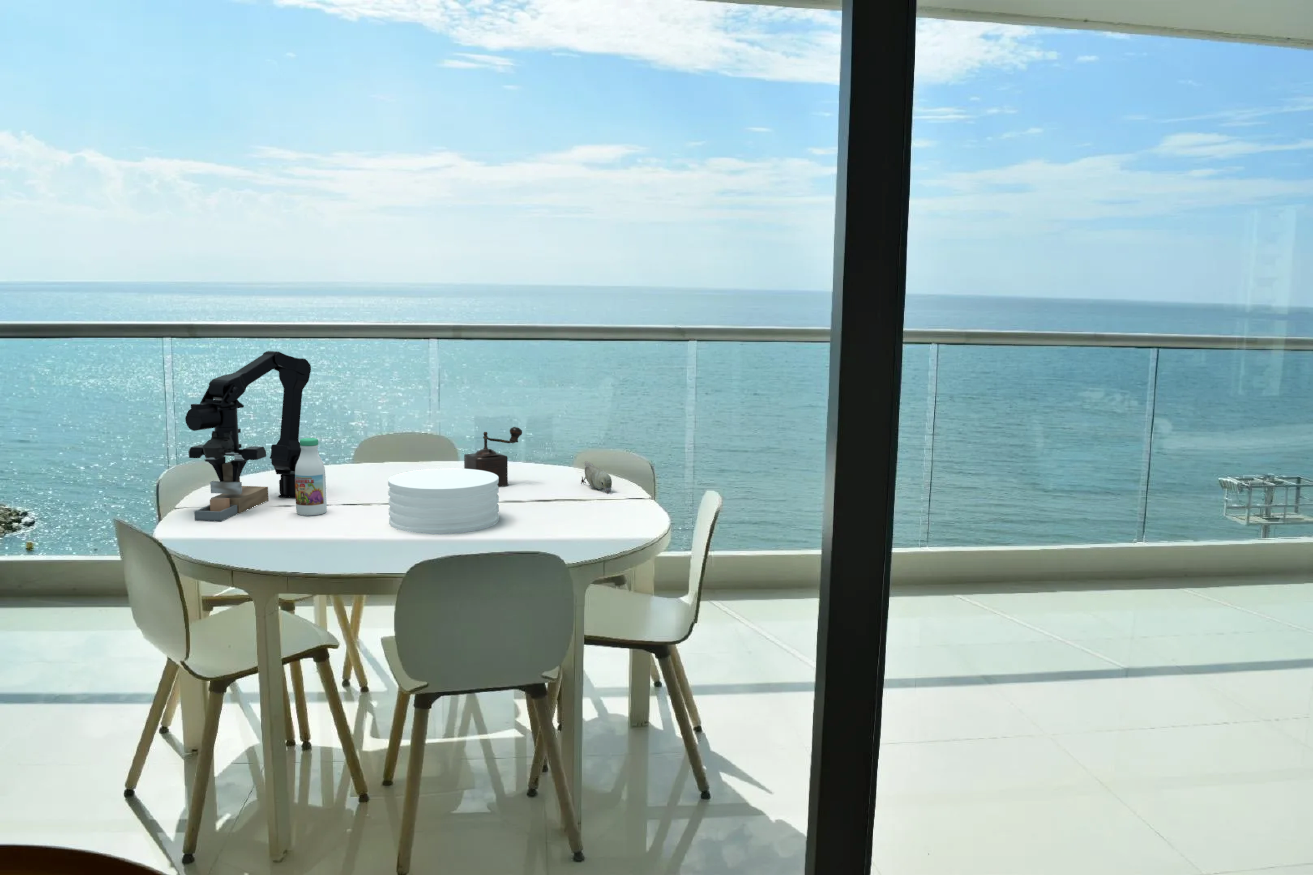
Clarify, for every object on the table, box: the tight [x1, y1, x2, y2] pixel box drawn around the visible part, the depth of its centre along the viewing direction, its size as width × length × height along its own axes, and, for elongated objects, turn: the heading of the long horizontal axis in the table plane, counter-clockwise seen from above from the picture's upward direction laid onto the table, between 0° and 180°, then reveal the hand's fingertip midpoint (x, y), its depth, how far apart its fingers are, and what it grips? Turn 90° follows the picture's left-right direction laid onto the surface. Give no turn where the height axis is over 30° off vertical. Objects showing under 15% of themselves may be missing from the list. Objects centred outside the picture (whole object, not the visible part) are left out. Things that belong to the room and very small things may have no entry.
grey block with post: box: [209, 461, 243, 495], centre depth 264 cm, size 8×5×8 cm, turn 85°
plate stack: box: [387, 467, 500, 535], centre depth 258 cm, size 28×28×12 cm
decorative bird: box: [580, 460, 613, 494], centre depth 303 cm, size 5×16×7 cm, turn 29°
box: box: [193, 504, 239, 523], centre depth 258 cm, size 7×8×2 cm
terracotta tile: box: [209, 497, 230, 511], centre depth 260 cm, size 4×4×2 cm
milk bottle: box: [295, 437, 328, 516], centre depth 263 cm, size 8×8×20 cm
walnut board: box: [210, 485, 270, 515], centre depth 271 cm, size 8×16×4 cm, turn 175°
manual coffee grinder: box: [463, 426, 523, 488], centre depth 306 cm, size 16×11×18 cm
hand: (229, 484), depth 264 cm, fingers closed on grey block with post, 3 cm apart
